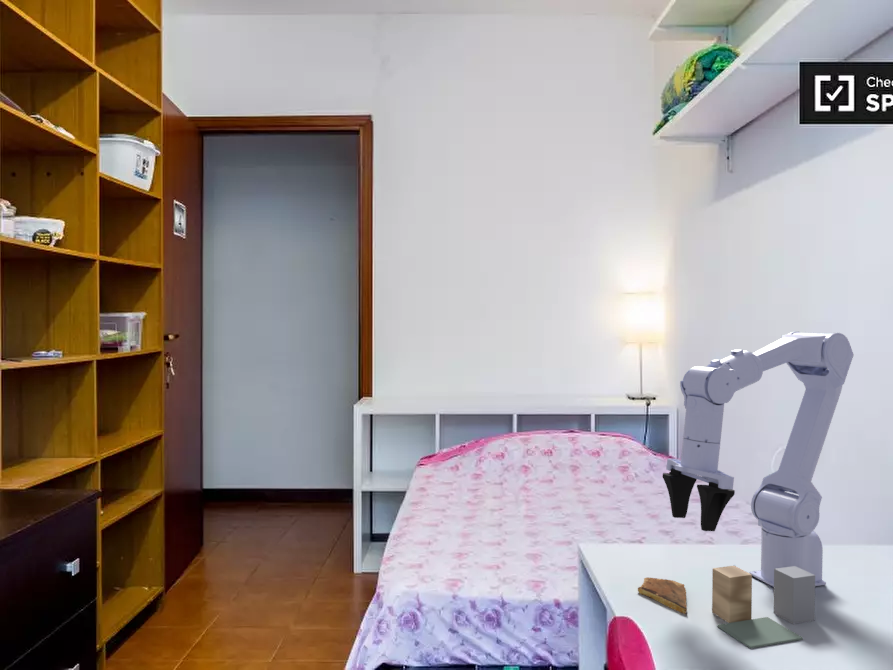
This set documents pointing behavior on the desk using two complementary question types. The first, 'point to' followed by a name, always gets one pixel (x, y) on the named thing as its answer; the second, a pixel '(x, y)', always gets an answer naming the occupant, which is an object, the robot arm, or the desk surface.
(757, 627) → the mat
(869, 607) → the desk surface
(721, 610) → the oak block
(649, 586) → the shard
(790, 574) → the grey block
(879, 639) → the desk surface
